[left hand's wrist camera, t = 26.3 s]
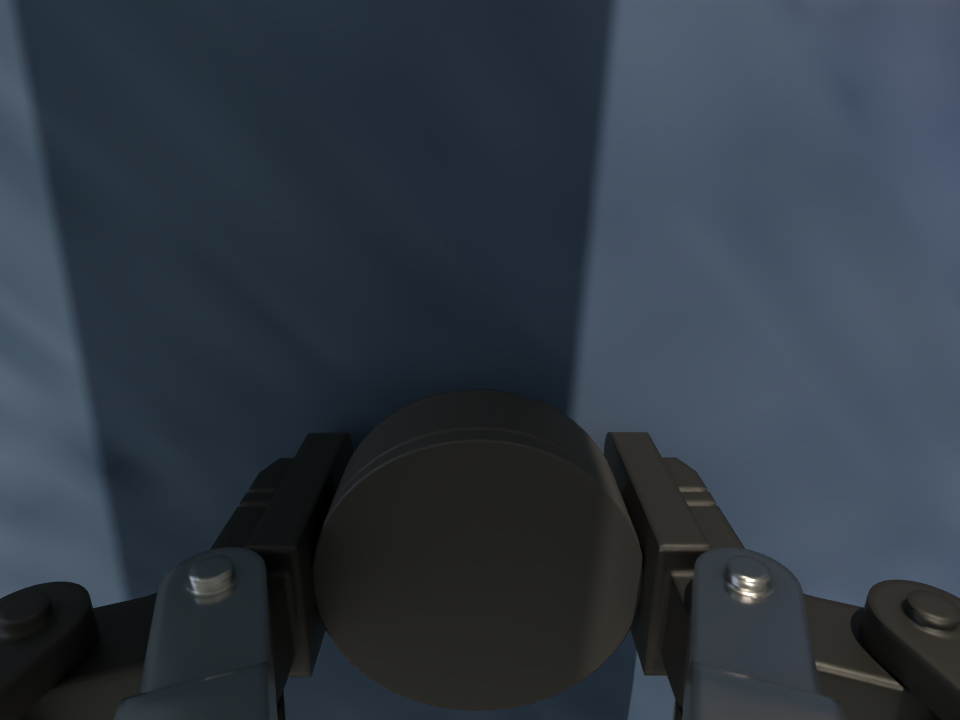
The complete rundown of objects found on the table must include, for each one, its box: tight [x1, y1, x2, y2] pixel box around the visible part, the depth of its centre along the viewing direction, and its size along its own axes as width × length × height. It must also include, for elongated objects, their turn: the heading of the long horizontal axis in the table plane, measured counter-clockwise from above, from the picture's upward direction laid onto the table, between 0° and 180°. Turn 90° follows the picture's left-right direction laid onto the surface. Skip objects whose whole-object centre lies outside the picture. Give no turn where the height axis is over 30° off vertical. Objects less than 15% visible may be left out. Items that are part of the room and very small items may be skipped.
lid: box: [312, 389, 643, 711], centre depth 10 cm, size 5×5×2 cm
